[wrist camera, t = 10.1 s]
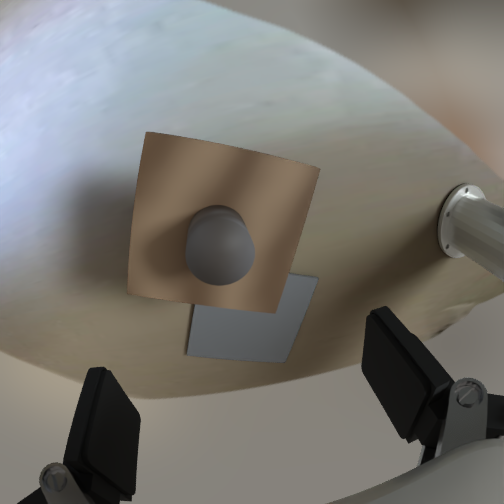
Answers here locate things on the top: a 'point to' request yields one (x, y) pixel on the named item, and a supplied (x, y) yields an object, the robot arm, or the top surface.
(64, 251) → the top surface
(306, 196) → the walnut lid
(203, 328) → the rubber mat
